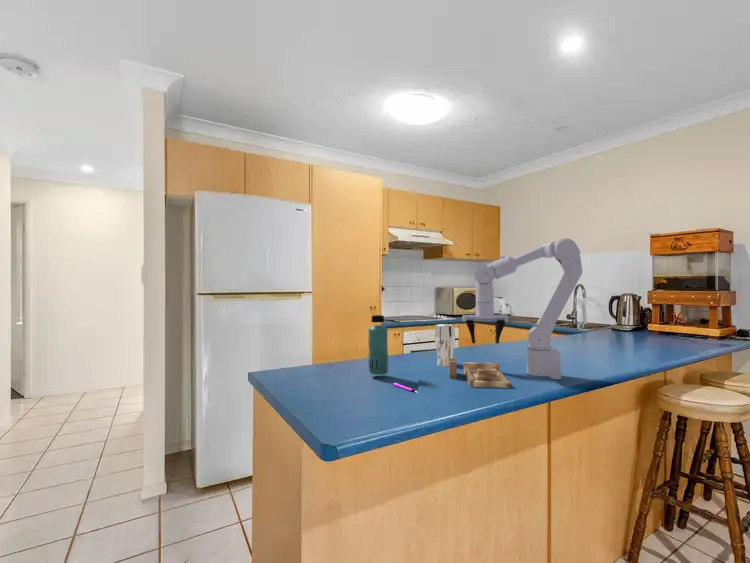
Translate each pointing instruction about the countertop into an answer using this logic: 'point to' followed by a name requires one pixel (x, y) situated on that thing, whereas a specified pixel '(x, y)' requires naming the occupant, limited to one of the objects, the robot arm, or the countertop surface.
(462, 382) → the countertop surface
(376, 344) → the beverage bottle
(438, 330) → the beer glass
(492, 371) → the offcut top
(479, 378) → the offcut low
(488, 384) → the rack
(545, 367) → the robot arm
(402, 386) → the pink paintbrush
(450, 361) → the tall board
